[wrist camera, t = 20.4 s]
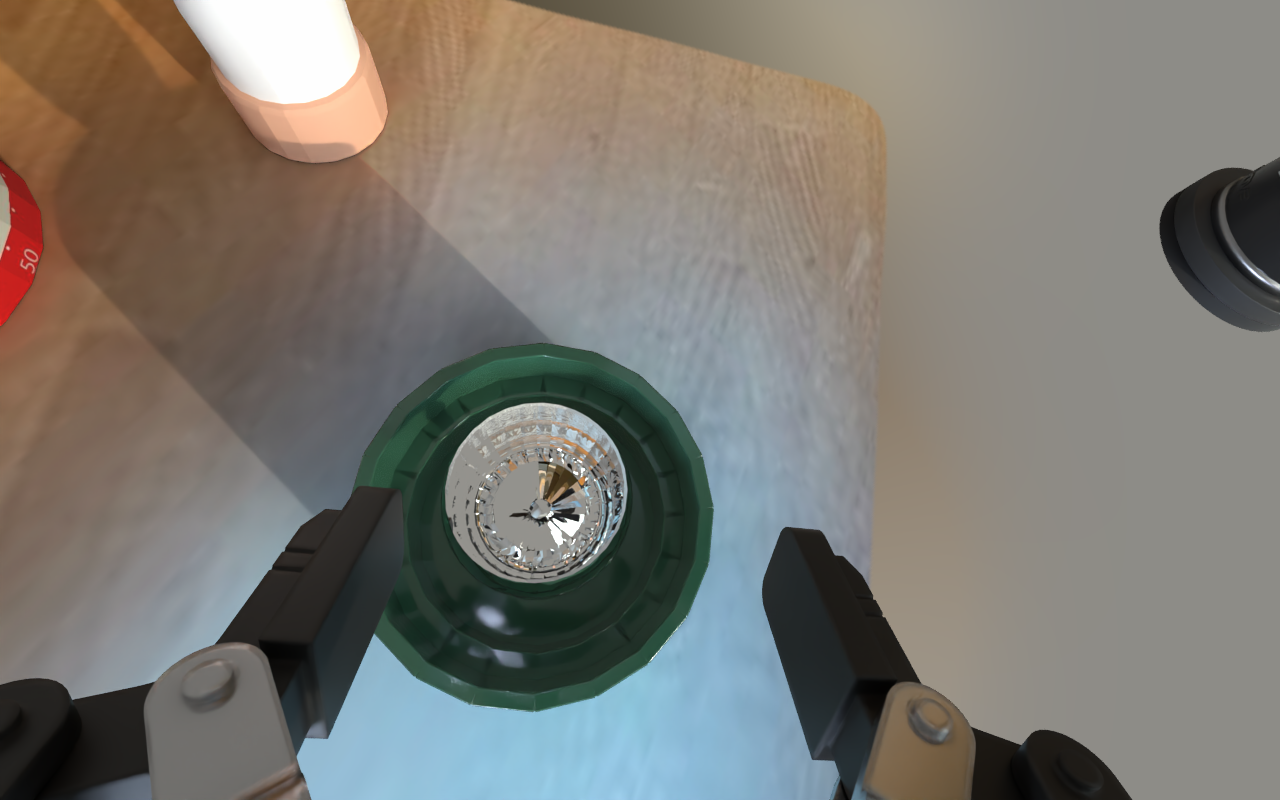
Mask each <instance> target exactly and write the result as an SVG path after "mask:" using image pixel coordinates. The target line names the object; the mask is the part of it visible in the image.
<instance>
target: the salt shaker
mask: <svg viewBox="0 0 1280 800" xmlns="http://www.w3.org/2000/svg"><path fill="white" fill-rule="evenodd" d="M173 1H174V3H175V5H176V7H177V8H178V10H179V12H180V13H181V15H182V16H183V18H184V19H185V20H186V22H187V23H188V25H189V26H190V28H191V29H192V31H193V32H194V33H195V35H196V36H197V38H198V39H199V41H200V42H201V43H202V45H203V46H204V48H205V49H206V51H207V52H208V54H209V55H210V56H211V69H212V71H213V73H214V75H215V77H216V79H217V81H218V83H219V85H220V87H221V88H222V90H223V91H224V93H225V94H226V95H227V97H228V98H229V100H230V101H231V103H232V104H233V106H234V107H235V109H236V110H237V112H238V113H239V115H240V116H241V118H242V119H243V121H244V122H245V124H246V125H247V127H248V128H249V130H250V131H251V133H252V134H253V135H254V137H255V138H256V139H257V140H258V141H260V142H261V143H262V144H263V145H264V146H265V147H266V148H267V149H269V150H270V151H272V152H274V153H276V154H279V155H281V156H283V157H285V158H288V159H290V160H296V161H302V162H308V163H321V162H334V161H338V160H341V159H344V158H347V157H350V156H353V155H356V154H357V153H359V152H360V151H362V150H363V149H365V148H366V147H367V146H369V145H370V144H372V143H373V142H374V140H375V139H376V138H377V136H378V135H379V134H380V132H381V131H382V130H383V128H384V125H385V121H386V117H387V114H388V110H387V103H386V96H385V93H384V90H383V87H382V85H381V82H380V79H379V76H378V73H377V70H376V67H375V64H374V61H373V58H372V55H371V52H370V49H369V46H368V44H367V42H366V41H365V39H364V37H363V36H362V34H361V32H360V31H359V29H358V28H357V27H356V26H355V25H354V24H353V23H352V21H351V18H350V15H349V12H348V8H347V5H346V2H345V0H173Z"/></svg>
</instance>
